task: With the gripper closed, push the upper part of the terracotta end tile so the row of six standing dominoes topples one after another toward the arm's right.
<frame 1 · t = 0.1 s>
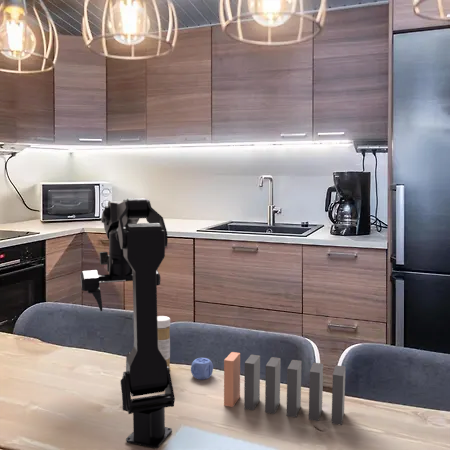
hand: (119, 308, 120), 15 cm above the table, tool pointing down, fingers open, 9 cm apart
sprinkles bottle: (161, 370, 120), on the table
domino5: (315, 414, 98), on the table
domino1: (232, 401, 104), on the table
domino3: (272, 407, 101), on the table
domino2: (252, 404, 102), on the table
domino4: (293, 411, 100), on the table
decorative dice: (202, 377, 117), on the table
domino6: (337, 418, 97), on the table
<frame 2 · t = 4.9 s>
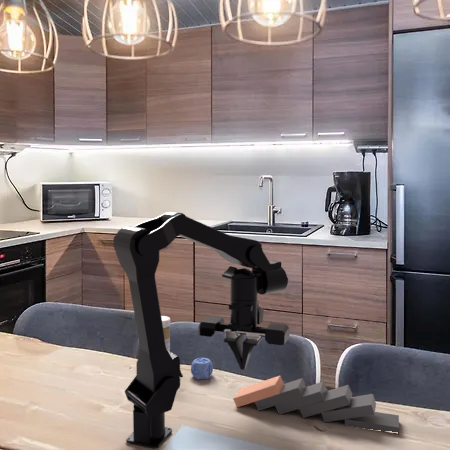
hand: (243, 369, 102), 7 cm above the table, tool pointing down, fingers closed
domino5: (324, 411, 97), point 1 cm above the table, tilted 71°, touching domino4, domino6
domino1: (238, 397, 103), point 1 cm above the table, tilted 64°, touching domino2
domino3: (279, 404, 100), point 1 cm above the table, tilted 64°, touching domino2
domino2: (259, 400, 102), point 1 cm above the table, tilted 64°, touching domino1, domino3
domino4: (303, 407, 99), point 1 cm above the table, tilted 64°, touching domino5
domino6: (345, 417, 96), on the table, tilted 90°, touching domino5
everything else where it was.
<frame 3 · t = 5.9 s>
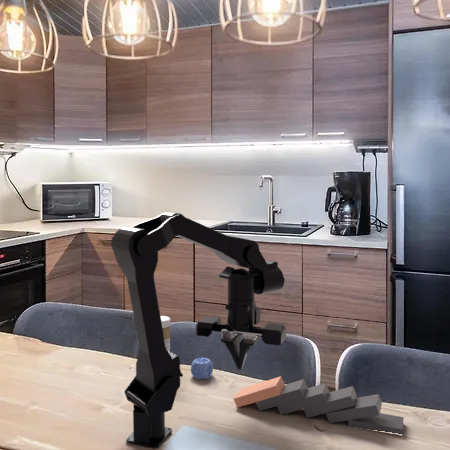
hand: (240, 369, 103), 7 cm above the table, tool pointing down, fingers closed
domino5: (330, 412, 97), point 1 cm above the table, tilted 69°, touching domino4, domino6
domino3: (281, 404, 100), point 1 cm above the table, tilted 66°, touching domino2, domino4
domino4: (307, 407, 99), point 1 cm above the table, tilted 66°, touching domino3, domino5
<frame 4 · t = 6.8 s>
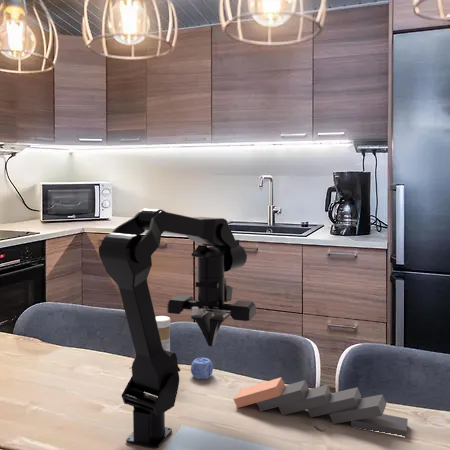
hand: (211, 345, 105), 12 cm above the table, tool pointing down, fingers closed
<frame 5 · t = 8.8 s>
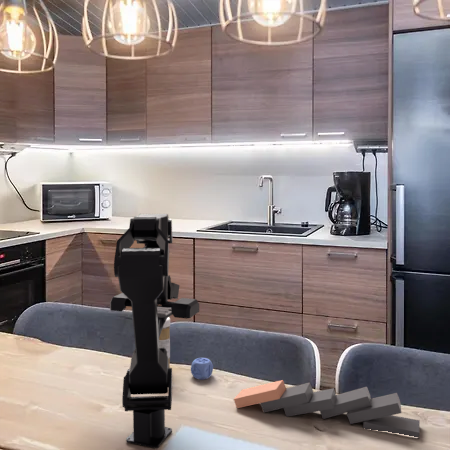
hand: (154, 343, 103), 13 cm above the table, tool pointing down, fingers closed
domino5: (349, 413, 96), point 1 cm above the table, tilted 68°, touching domino4, domino6
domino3: (287, 406, 100), point 1 cm above the table, tilted 70°, touching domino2, domino4
domino4: (321, 409, 98), point 1 cm above the table, tilted 67°, touching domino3, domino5
domino6: (364, 421, 95), on the table, tilted 90°, touching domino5
at the end: domino6 tilted 90°; domino1 tilted 67° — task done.
